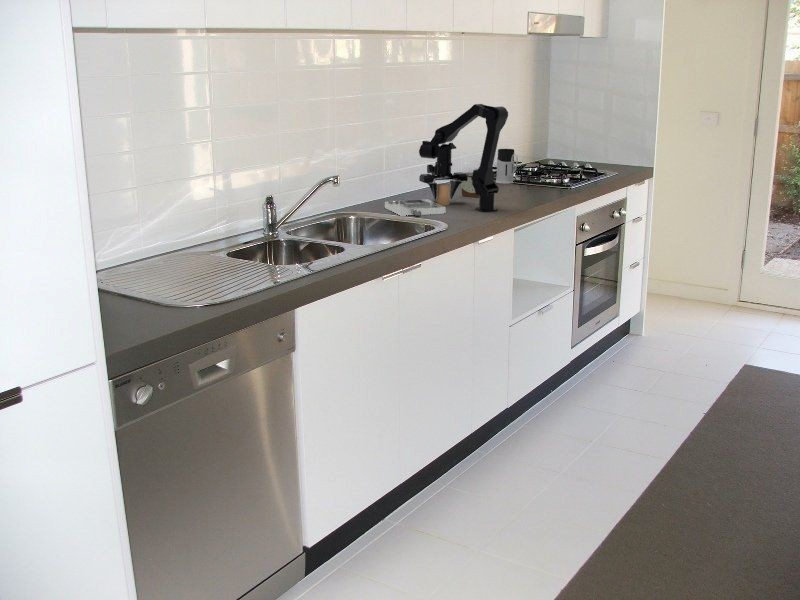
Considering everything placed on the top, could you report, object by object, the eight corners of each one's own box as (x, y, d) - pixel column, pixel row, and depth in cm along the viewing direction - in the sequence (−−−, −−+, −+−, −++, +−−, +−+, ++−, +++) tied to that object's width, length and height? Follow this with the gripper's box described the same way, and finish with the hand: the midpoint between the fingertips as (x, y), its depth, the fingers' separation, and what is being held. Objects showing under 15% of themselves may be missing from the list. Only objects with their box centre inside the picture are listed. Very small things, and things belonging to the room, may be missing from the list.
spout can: (451, 204, 352) (451, 184, 349) (439, 205, 350) (440, 185, 348) (444, 202, 358) (445, 182, 356) (433, 202, 356) (433, 182, 354)
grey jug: (508, 180, 415) (509, 148, 411) (524, 184, 403) (525, 151, 399) (491, 181, 412) (493, 148, 408) (507, 185, 400) (509, 152, 395)
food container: (491, 197, 369) (492, 173, 366) (485, 199, 364) (485, 175, 361) (464, 194, 375) (465, 171, 372) (458, 197, 370) (458, 173, 367)
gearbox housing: (448, 215, 331) (448, 205, 330) (403, 217, 325) (403, 208, 324) (427, 205, 350) (427, 196, 349) (384, 208, 344) (384, 199, 343)
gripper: (457, 156, 358) (456, 194, 363) (414, 158, 352) (414, 197, 357) (468, 159, 348) (467, 199, 353) (424, 161, 342) (424, 201, 347)
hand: (443, 199), depth 352 cm, fingers open, 7 cm apart
